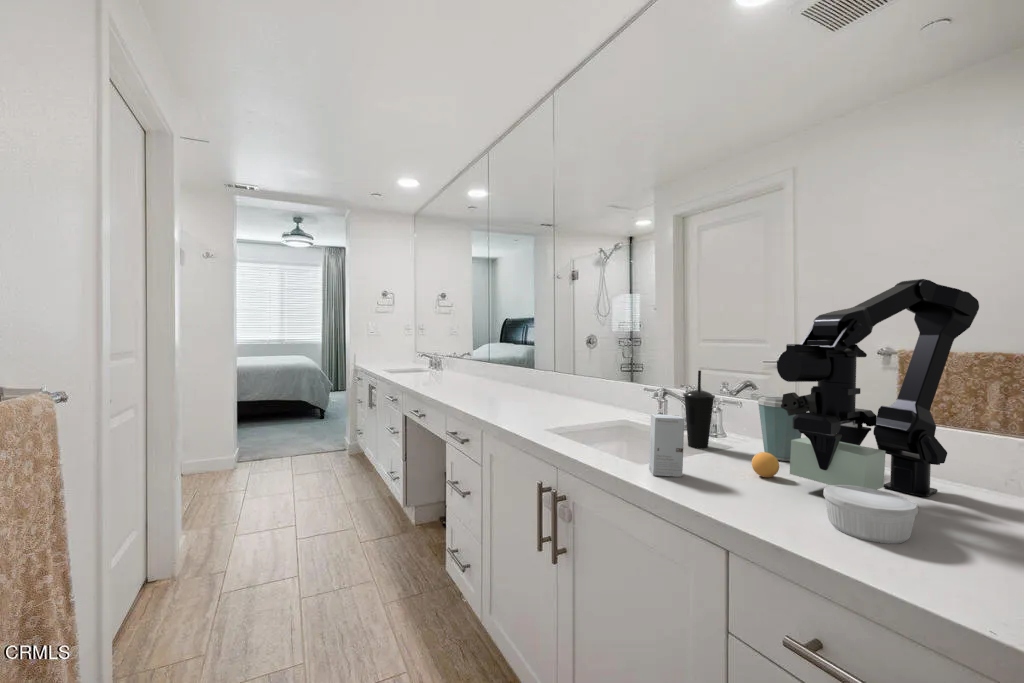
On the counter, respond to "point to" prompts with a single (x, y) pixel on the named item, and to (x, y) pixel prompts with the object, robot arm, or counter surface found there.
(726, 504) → the counter surface
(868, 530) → the ramekin
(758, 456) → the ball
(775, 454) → the disposable coffee cup
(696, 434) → the drinking cup
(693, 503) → the counter surface
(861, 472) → the sage green rectangular block
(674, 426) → the skincare box
